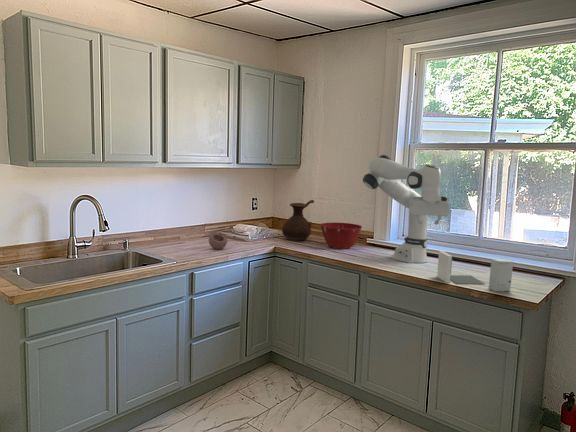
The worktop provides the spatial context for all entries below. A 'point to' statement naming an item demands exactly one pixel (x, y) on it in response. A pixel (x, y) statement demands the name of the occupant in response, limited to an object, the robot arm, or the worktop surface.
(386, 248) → the worktop surface
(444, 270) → the tile
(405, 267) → the worktop surface
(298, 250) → the worktop surface
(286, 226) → the jug
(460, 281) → the mat
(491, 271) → the skincare box
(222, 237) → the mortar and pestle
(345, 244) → the mixing bowl
